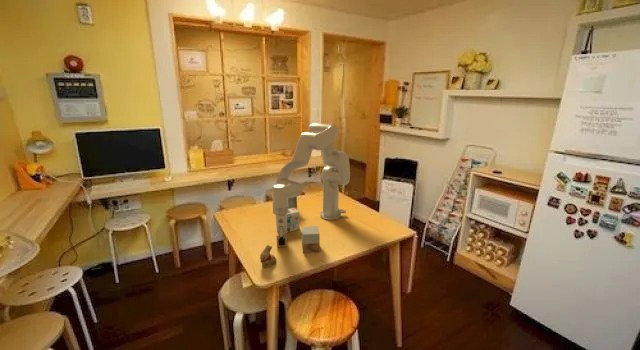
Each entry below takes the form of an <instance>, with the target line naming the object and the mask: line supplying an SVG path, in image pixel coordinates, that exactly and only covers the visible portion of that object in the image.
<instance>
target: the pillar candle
mask: <svg viewBox="0 0 640 350" xmlns="http://www.w3.org/2000/svg"><path fill="white" fill-rule="evenodd" d="M297 199H298V196H297V197H292V198H288V209H291V208H296V209H297V210H298V200H297Z"/></svg>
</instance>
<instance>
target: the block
mask: <svg viewBox="0 0 640 350" xmlns="http://www.w3.org/2000/svg"><path fill="white" fill-rule="evenodd" d="M279 232H280V231H279ZM287 233H288V232H287ZM287 233H284V238H285V245H284V246H283V247H288V240H287V239H288V238H287V237H288V234H287ZM275 235H276V247H277V248H278V247H281V246H279V241H278V238H279V233H277V232H276V234H275Z"/></svg>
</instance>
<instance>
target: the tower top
mask: <svg viewBox="0 0 640 350" xmlns="http://www.w3.org/2000/svg"><path fill="white" fill-rule="evenodd" d="M302 240H303V244H315V243H320V230H319V226H317V225H316V226H315V225H314V226H302V227H301V241H302Z"/></svg>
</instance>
